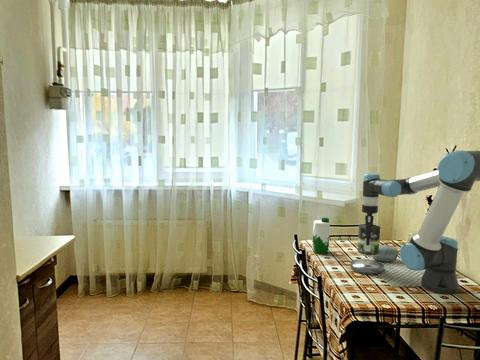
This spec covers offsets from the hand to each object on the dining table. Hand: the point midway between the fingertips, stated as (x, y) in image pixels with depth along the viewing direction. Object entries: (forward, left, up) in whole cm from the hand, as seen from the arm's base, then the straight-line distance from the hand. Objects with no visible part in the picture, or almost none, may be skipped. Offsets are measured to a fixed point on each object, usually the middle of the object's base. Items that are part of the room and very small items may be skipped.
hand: (367, 248), depth 189 cm
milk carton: (+33, +4, -11) cm, 35 cm away
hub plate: (0, 0, -11) cm, 11 cm away
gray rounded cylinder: (+7, -19, -11) cm, 23 cm away
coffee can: (0, 0, -3) cm, 3 cm away
